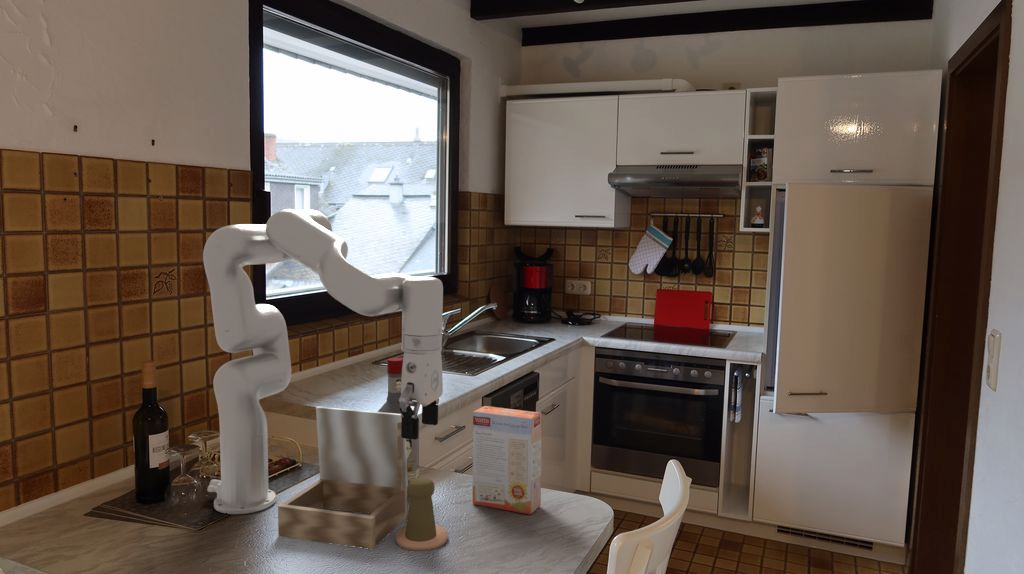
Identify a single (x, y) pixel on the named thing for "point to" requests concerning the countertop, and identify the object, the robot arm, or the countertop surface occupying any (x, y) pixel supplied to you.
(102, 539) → the countertop surface
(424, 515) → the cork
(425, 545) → the peach flat disc
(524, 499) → the cracker box
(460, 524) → the countertop surface
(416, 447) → the liquor
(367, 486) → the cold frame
